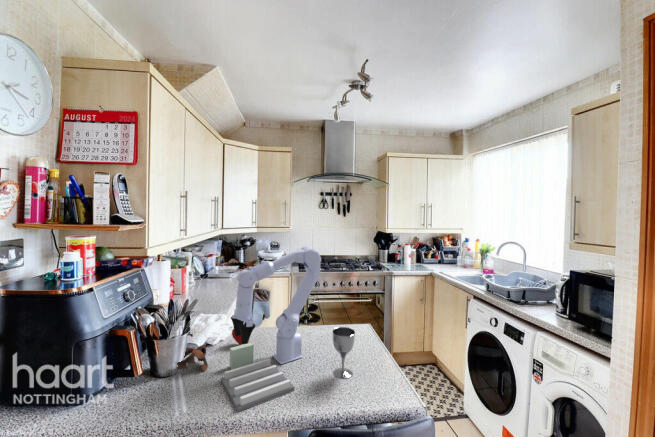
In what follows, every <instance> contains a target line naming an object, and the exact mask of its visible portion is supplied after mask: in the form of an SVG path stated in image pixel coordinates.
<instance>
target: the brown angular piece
mask: <svg viewBox="0 0 655 437" xmlns="http://www.w3.org/2000/svg"><path fill="white" fill-rule="evenodd" d="M184 352H185V356H184V359H183V360H182V361H181V362H178V363H177V364H176V370H177V371H179V370H187V364H188V365H194V364H196V361H195V359H196V358H197V361H198V362H203V364H202V365H201V367H200V369H201V370H202V372H203V373H205V371H206V370H207V369H208V366H209V364H208V362H207V359H206V355H207V348H206V346H205V345H199V346H198V347H197V348H195V347H191V348H188V349H186V351H184ZM195 357H196V358H195ZM177 365H178V367H177Z"/></svg>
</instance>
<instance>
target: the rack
mask: <svg viewBox="0 0 655 437" xmlns="http://www.w3.org/2000/svg"><path fill="white" fill-rule="evenodd" d="M220 381H221V384H222V385H223V387H224V388H225V389H224V390H225V391H226V393H227V394H228V396H229V397H230V399H231V402H232V403H233V405H234V407H235V408H236V410H237V412H238V413H239V412H242V411H244V410H248V409H249V408H252V407H255V406H258V405H260V404H263V403H265V402H267V401H270V400H273V399H275V398H279V397H280V396H283V395H286V394H288V393H291V392H294V391H295V385H293V384H292V383H291V382H292V380H290V379H288V378H286V376H285V375H284V372H283V371H280V370H279V369H278V366H277V365H276V364H273V363H272V362H271V359H270V358H267V359H263V360H260V361H256V362H253V364H249V365H246V366H243V367H239V368H236V369H233V370H232V369H230V370H226V371H224V376H222V377H221V378H220Z"/></svg>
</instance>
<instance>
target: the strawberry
mask: <svg viewBox="0 0 655 437" xmlns="http://www.w3.org/2000/svg"><path fill="white" fill-rule="evenodd" d="M231 335H232V338H233V339H234V341H235V342H236V343H237V344H238V346H240V345H243V344H242V343H241V335H240V336H235V333H234V328H233V329H232V330H231Z"/></svg>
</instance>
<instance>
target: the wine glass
mask: <svg viewBox="0 0 655 437" xmlns="http://www.w3.org/2000/svg"><path fill="white" fill-rule="evenodd" d="M331 335H332V343H333V347H334V349H335V351H336V352H337V353H338V354H339V356H340V358H341V367H338V368H337V367H336V368H335V369H334V370H333V371H332V374H333V376H334V377H335V378H337V379H340V380H348V379H350V378H352V377H353V376H354V375H353V373H354V372H353V371H352V370H351V369H349V368H347V367H345V360H346V357H347V355H348V354H349V353H351V351H352V349H353V348H354V346H355V340H356V331H355V329H353V328H351V327H346V326H340V327H334V329H333V330H332V334H331Z"/></svg>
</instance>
